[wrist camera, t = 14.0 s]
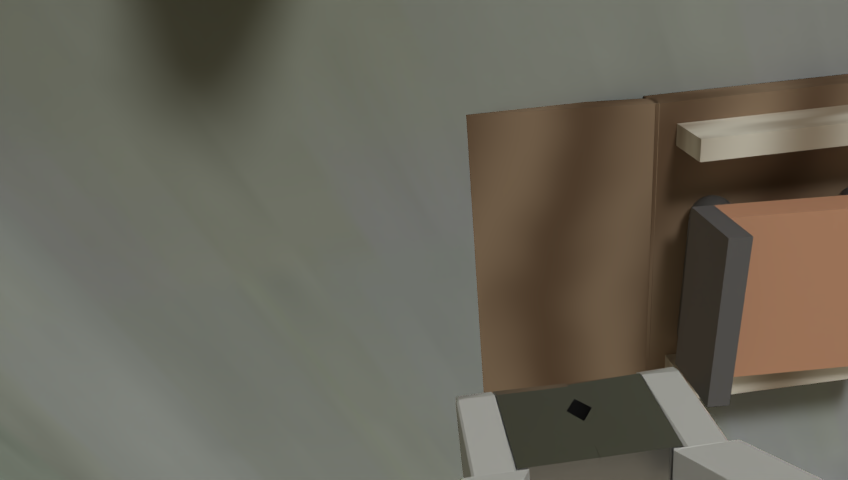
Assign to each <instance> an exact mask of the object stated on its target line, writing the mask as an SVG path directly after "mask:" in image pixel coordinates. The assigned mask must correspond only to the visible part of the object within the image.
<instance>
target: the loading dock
mask: <svg viewBox="0 0 848 480" xmlns="http://www.w3.org/2000/svg"><path fill="white" fill-rule="evenodd" d="M466 117H467V133H468V149H469V165H470V181H471V197H472V212H473V228H474V244H475V260H476V276H477V292H478V307H479V323H480V339H481V355H482V371H483V387H484V393H486V392H492V393H493V391H502V390H511V389H519V388H528V387H537V386H546V385H554V384H563V383H566V384H569V383H576V382H583V381H590V380H597V379H603V378H610V377H617V376H624V375H631V374H636V373H637V372H643V371H649V370H655V369H661V368H667V367H674V368H676V369H678V370H679V368H678V367H677V366H676V364H675V360H676V351H677V341H678V335H677V326H678V317H679V307H680V297H681V288H682V278H683V268H684V259H685V249H686V240H687V230H688V220H689V213H690V210H691V207H692V206H693V204H694V203H695V202H696V201H697V200H699V199H700V198H702V197H705V196H708V195H717V196H721V197H723V198H725V199H727V200H728V201H729V202H730V203H731V204H736V203H749V202H762V201H775V200H788V199H801V198H814V197H827V196H838V195H839V193H840V192H841V191H842V190H844V189H845V188H847V187H848V74H843V75H834V76H825V77H816V78H806V79H797V80H788V81H779V82H769V83H760V84H751V85H742V86H732V87H723V88H714V89H705V90H695V91H686V92H677V93H668V94H659V95H649V96H643V99H629V100H612V101H596V102H582V103H573V104H564V105H554V106H545V107H536V108H527V109H517V110H508V111H499V112H490V113H480V114H471V115H466ZM679 371H680V370H679ZM680 373H681V374H682V372H681V371H680ZM682 376H683V377H684V379H685V380H686V381H687V379H686V378H685V376H684V375H683V374H682ZM844 379H848V366H847V367H836V368H825V369H815V370H804V371H793V372H783V373H772V374H762V375H751V376H740V377H733V384H732V391H731V394H737V393H745V392H753V391H760V390H768V389H775V388H783V387H791V386H798V385H806V384H813V383H821V382H829V381H836V380H844ZM687 383H688V384H689V386H690V387H691V388H692V390H693V391H694V393H695V394H696V396H697V397H698V398H700V397H699V396H698V394H697V393H696V391H695V390H694V389H693V387H692V386H691V385H690V383H689V382H688V381H687Z"/></svg>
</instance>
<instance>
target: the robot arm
mask: <svg viewBox="0 0 848 480" xmlns="http://www.w3.org/2000/svg"><path fill="white" fill-rule="evenodd" d="M456 412H457V422H458V431H459V441H460V451H461V461H462V469H463V477H464V478H461V479H460V480H823V479H821V478H819V477H817V476H815V475H812V474H810V473H808V472H806V471H804V470H802V469H800V468H798V467H796V466H794V465H792V464H789V463H787V462H785V461H783V460H781V459H779V458H777V457H775V456H773V455H771V454H769V453H767V452H764V451H762V450H760V449H758V448H756V447H754V446H752V445H750V444H748V443H746V442H744V441H741V440H733V441H728V440H727V438H726V437H725V435H724V434H723V432H722V431H721V430H720V428H719V427H718V425H717V424H716V422H715V421H714V420H713V418H712V417H711V415H710V414H709V413H708V411H707V410H706V408H705V407H704V405H703V404H702V403H701V401H700V400H699V398H698V397H697V396H696V394H695V393H694V391H693V390H692V388H691V387H690V386H689V384H688V383H687V381H686V380H685V379H684V377H683V376H682V374H681V373H680V371H679V370H678V369H676V368H674V367H667V368H661V369H655V370H649V371H643V372H637V373H636V374H631V375H624V376H617V377H610V378H603V379H597V380H590V381H583V382H576V383H569V384H566V383H563V384H554V385H546V386H537V387H528V388H519V389H511V390H502V391H493V393H492V392H486V393H478V394H471V395H463V396H456Z"/></svg>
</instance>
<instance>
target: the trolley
mask: <svg viewBox="0 0 848 480" xmlns="http://www.w3.org/2000/svg"><path fill="white" fill-rule="evenodd" d="M677 335H678V341H677V351H676V360H675V364H676V366H677V367H678V368H679V370H680V371H681V372H682V374H683V375H684V376H685V378H686V379H687V381H688V382H689V383H690V385H691V386H692V387H693V389H694V390H695V391H696V393H697V394H698V396H699V397H700V398H701V400H702V401H703V402H704V404H705V405H706V406H707V407H716V406H727V405H730V398H731V391H732V384H733V377H740V376H751V375H762V374H772V373H783V372H793V371H804V370H815V369H825V368H836V367H847V366H848V187H847V188H845V189H844V190H842V191H841V192H840V193H839V195H838V196H827V197H814V198H801V199H788V200H775V201H762V202H749V203H736V204H731V203H730V202H729V201H728V200H727V199H725V198H723V197H721V196H717V195H708V196H705V197H702V198H700V199H699V200H697V201H696V202H695V203H694V204H693V206H692V207H691V210H690V213H689V220H688V230H687V240H686V249H685V259H684V268H683V278H682V288H681V297H680V307H679V317H678V326H677Z"/></svg>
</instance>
